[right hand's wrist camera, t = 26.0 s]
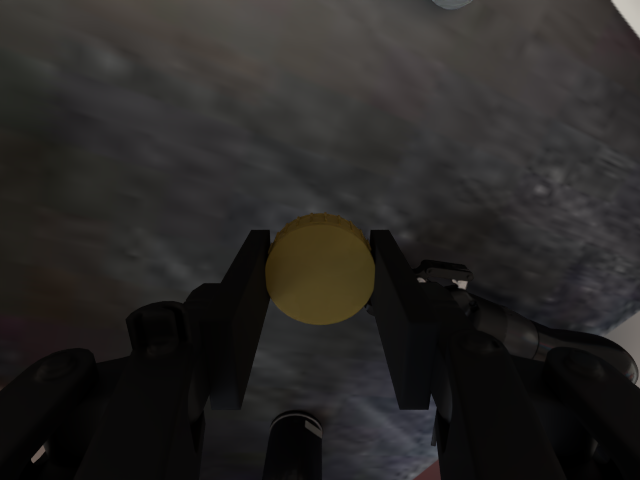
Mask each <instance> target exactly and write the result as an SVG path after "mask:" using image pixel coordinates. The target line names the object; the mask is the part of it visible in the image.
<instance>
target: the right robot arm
mask: <svg viewBox="0 0 640 480" xmlns="http://www.w3.org/2000/svg"><path fill="white" fill-rule="evenodd" d="M370 247H371V249H372V251H371V253H372V256H373V259H374V262H375V278H374V290H373V292H372V295H371V297H370V300H371V304H372V307H373V311H374V315H375V319H376V322H377V326H378V330H379V334H380V337H381V341H382V345H383V349H384V352H385V356H386V360H387V364H388V368H389V371H390V375H391V379H392V383H393V386H394V390H395V394H396V398H397V401H398V405H399V409H400V410H429V403H430V397H431V394H432V396H433V399H434V401H435V404H436V407H437V410H436V416H435V422H434V429H433V435H432V441H431V446H436V441H437V449H438V457H439V466H440V474H441V480H640V388H639V387H637V386H636V385H635V384H634V383H633V382H631V381H630V380H629V379H628V378H627V377H625V376H624V375H623V374H622V373H621V372H620V371H618V370H617V369H616V368H615V367H614V366H612V365H611V364H609V363H608V362H606V361H605V360H603V359H602V358H600V357H598V356H596V355H594V354H592V353H590V352H588V351H585V350H580V349H578V348H572V347H562V346H561V347H556V348H552V349H551V350H550V351H548V352H547V356H546V359H545V362H543V361H538V360H533V359H528V358H523V357H519V356H515V355H511V354H509V352H508V350H507V348H506V347H505V346H504V344H503V343H502V342H501V341H500V340H498V339H497V338H495V337H494V336H492V335H490V334H487V333H485V332H483V331H478V330H477V329H476V328H475V327H474V325H473V324H472V322H471V321H470V320H469V318H468V317H467V316H466V314H465V313H464V311H463V310H462V309H461V308H460V306H459V304H458V303H457V302H456V300H454V297H453V296H452V295H451V293H450V292H449V290H448V289H446V288H445V287H443V286H442V285H440V284H438V283H437V282H419V281H418V280H417V278H416V276H415V274H414V273H413V271H412V269H411V267H410V266H409V264H408V262H407V261H406V259H405V257H404V255H403V254H402V252H401V250H400V248H399V247H398V245H397V243H396V241H395V240H394V238H393V236H392V235H391V233H390V231H389V230H371V231H370ZM269 248H270V230H251V231H250V233H249V235H248V237H247V238H246V240H245V242H244V244H243V245H242V247H241V249H240V251H239V252H238V254H237V256H236V257H235V259H234V261H233V263H232V264H231V266H230V268H229V270H228V271H227V273H226V275H225V277H224V278H223V280H222V282H221V283H204V284H202V285H201V286H199V287H198V288H196V289H194V290H193V291H192V292H191V293H190V295H189V296H188V298H187V299H186V302H184V303H183V304H182V303H179V302H175V301H162V302H156V303H151V304H149V305H146V306H143V307H141V308H139V309H137V310H136V311H134V312H132V313H131V314H130V315H129V316H128V317H127V318H126V324H127V328H128V332H129V336H130V340H131V345H132V349H133V350H132V352H131V355H130V356H127V357H123V358H119V359H114V360H109V361H105V362H100V363H96V362H95V358H94V355H93V353H92V352H91V351H89V350H88V349H82V348H74V349H66V350H61V351H58V352H55V353H52V354H50V355H48V356H46V357H44V358H42V359H40V360H38V361H37V362H35V363H34V364H32V365H31V366H29V367H28V368H27V369H26V370H25V371H23V372H22V373H21V374H20V375H19V376H17V377H16V378H15V379H14V380H13V381H12V382H10V383H9V384H8V385H7V386H6V387H4V388H3V389H2V390H1V391H0V480H199V475H200V467H201V458H202V450H203V441H204V433H205V424H206V423H205V416H204V410H203V409H204V406H205V404H206V401H207V399H208V396H209V395H210V402H211V408H212V410H241V406H242V402H243V398H244V395H245V391H246V387H247V383H248V380H249V376H250V372H251V368H252V365H253V361H254V357H255V353H256V350H257V346H258V342H259V338H260V335H261V331H262V327H263V323H264V319H265V316H266V312H267V308H268V304H269V301H270V295H269V293H268V291H267V288H266V275H265V265H266V261H267V258H268V255H269V254H267V253H268V251H269ZM597 444H599V445H600V446H601V447H602V448H603V449H604V451H605V452H606V453H607V454H608V455H609V456H610V460H609V461H608V462H607V461H605V460H604V459H603V458H602V457H601V456H600V455H599V453H598V452H597V451H596V450H595V449H596V446H597ZM42 445H43V446H44V448H45V452H44V453H43V455H42V456H41V457H40V458H39V459H38V460H37V461H36V462H34V463H32V461H31V458H32V457H33V456H34V455H35V454H36V452H37V451H38V450H39V449H40V448H41V446H42Z"/></svg>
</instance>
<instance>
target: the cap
mask: <svg viewBox="0 0 640 480" xmlns="http://www.w3.org/2000/svg"><path fill="white" fill-rule="evenodd" d="M371 251H372V249H371V247H370V244H369V241H368V240H366V239H365V237H364V235H363V233H362V230H361V229H360V230H359V229H358V228H357V227H356V226H354V225H353V224H352V222H351V221H350V222H349V221H347V220H345V219H343V218H341V217H340V215H338V216H335V215H331V214H327V213H326V212H324V214H323V213H318V214H313V213H311V214H310V215H305V216H302V217H299V216H298V217H297V219H295V220H293V221H292V222H290V223H289V224H288V223H286V226H285V227H284V228H283V229H282V230H281V231H280V232H277V235H276V237H275V240H274V242H273V243H271V245H270V248H269V251H268V253H267V254H269V255H268V258H267V261H266V265H265V275H266V288H267V291H268V293H269V295H270V297H271V299H272V300H273V302H274V303H275V304H276V306H277V307H278V308H279V309H280V310H281V311H282V312H284V313H285V314H286V315H288V316H290V317H291V318H293V319H295V320H298V321H300V322H304V323H308V324H314V325H327V324H333V323H337V322H340V321H343V320H345V319H347V318H349V317H351V316H353V315H354V314H356V313H357V312H358V311H359V310H360V309H362V308H363V306H364V305H365V304H366V303H367V301H368V300H369V298H370V297H371V295H372V292H373V290H374V278H375V262H374V259H373V256H372V253H371Z"/></svg>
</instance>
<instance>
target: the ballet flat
mask: <svg viewBox="0 0 640 480" xmlns="http://www.w3.org/2000/svg"><path fill="white" fill-rule="evenodd" d="M432 1H433V2H434V3H435V4H436V5H437V6H440V7H442V8H444V9H449V10H454V9H459V8H461V7H463V6H465V5H467V4H469V3H470V2H471V1H473V0H432Z"/></svg>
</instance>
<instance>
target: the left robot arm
mask: <svg viewBox="0 0 640 480" xmlns="http://www.w3.org/2000/svg"><path fill="white" fill-rule="evenodd" d="M412 271H413V273H414V274H415V276H416V278H417V280H418V281H419V282H431V281H429V280H428V279H427V278H428V277H429V276H431V277H438V278H445V279H451V280H452V282H453V283H456V285H451V286H445V288H446V289H448V290H449V292H450V293H451V295H452V296H453V297H454V300H456V302H457V303H458V304H459V306H460V308H461V309H462V310H463V311H464V313H465V314H466V316H467V317H468V318H469V320H470V321H471V322H472V324H473V325H474V327H475V328H476V329H477V330H478V331H483V332H485V333H487V334H490V335H492V336H494V337H495V338H497V339H498V340H500V341H501V342H502V343H503V344H504V346H505V347H506V348H507V350H508V352H509V354H511V355H515V356H519V357H523V358H528V359H533V360H538V361H543V362H545V359H546V356H547V352H548V351H550V350H551V349H552V348H556V347H561V346H562V347H572V348H578V349H580V350H585V351H588V352H590V353H592V354H594V355H596V356H598V357H600V358H602V359H603V360H605V361H606V362H608V363H609V364H611V365H612V366H614V367H615V368H616V369H617V370H618V371H620V372H621V373H622V374H623V375H624V376H625V377H627V378H628V379H629V380H630V381H631V382H633V383H634V384H636V382H637V380H638V368H637V365H636V363H635V361H634V359H633V358H632V357H631V355H630V354H629V353H628V352H627V351H626V350H625V349H623V348H622V347H621V346H620V345H618V344H616V343H615V342H613V341H611V340H609V339H607V338H604V337H602V336H598V335H595V334H590V333H584V332H578V331H571V330H564V329H552V328H548V327H546V326H544V325H541V324H539V323H536V322H534V321H531V320H529V319H527V318H525V317H523V316H521V315H520V314H518V313H516V312H514V311H512V310H510V309H508V308H507V307H505V306H502V305H498V304H495V303H493V302H490V301H488V300H486V299H483V298H481V297H478V296H476V295H473V294H471V293H468V292H467V291H466V290H465V289H466V286H467V283H468V282H469V281H472V280H473V279H474V275H473V273H472V272H471V271H470V270H469V269H468V268H467V267H466V266H465V265H462V264H454V263H447V262H440V261H433V260H423V261H422V262H421V265H420V266H419V267H418V268H416V269H412ZM364 306H365V308H366V309H367V312H368V313H369V314H371V315H373V316H375V315H374V311H373V307H372V304H371V300H370V298H369V300H368V301H367V303H366V304H365V305H364ZM322 436H323V433H322V426H321V424H320V422H319V421H318V420H317V419H316V418H315V417H313V416H312V415H310V414H308V413H304V412H299V411H292V412H287V413H283V414H281V415H279V416H278V417H277V418H275V419H274V421H273V422H272V424H271V426H270V432H269V441H268V447H267V453H266V459H265V465H264V471H263V477H262V480H322ZM595 450H596V451H597V452H598V453H599V455H600V456H601V457H602V458H603V459H604V460H605V461H607V462H608V461H609V460H610V456H609V455H608V454H607V453H606V452H605V451H604V449H603V448H602V447H601V446H600V445H599V444H597V446H596V449H595Z"/></svg>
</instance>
